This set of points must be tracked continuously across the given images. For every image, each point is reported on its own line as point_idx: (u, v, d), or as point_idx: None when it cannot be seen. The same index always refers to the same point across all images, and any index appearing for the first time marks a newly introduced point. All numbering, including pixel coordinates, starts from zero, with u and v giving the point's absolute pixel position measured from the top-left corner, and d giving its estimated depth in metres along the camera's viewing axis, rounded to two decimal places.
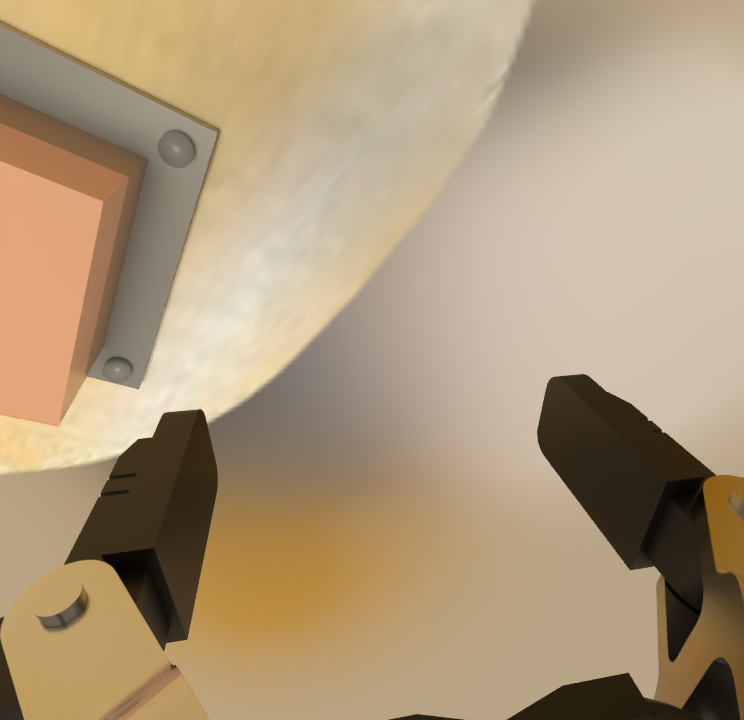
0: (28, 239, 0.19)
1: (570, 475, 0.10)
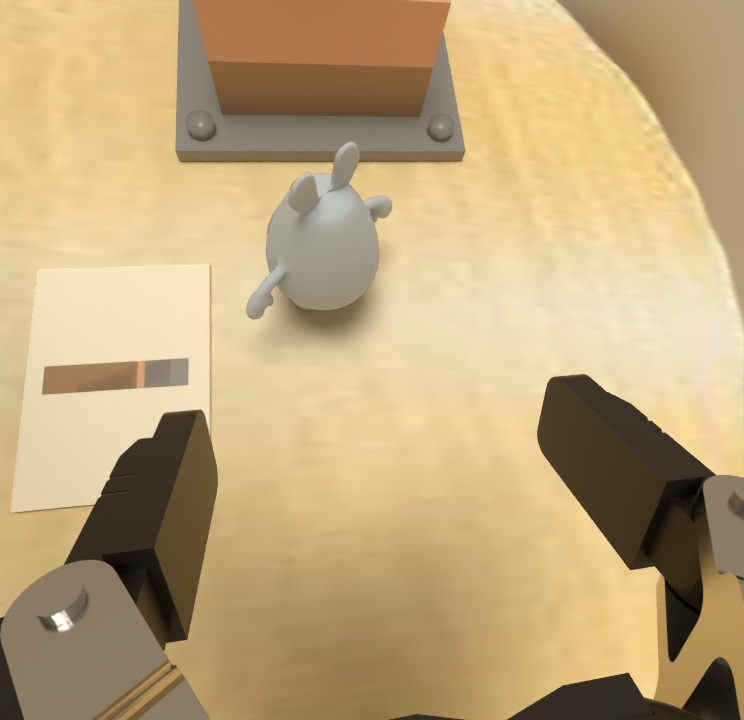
0: None
1: (570, 475, 0.10)
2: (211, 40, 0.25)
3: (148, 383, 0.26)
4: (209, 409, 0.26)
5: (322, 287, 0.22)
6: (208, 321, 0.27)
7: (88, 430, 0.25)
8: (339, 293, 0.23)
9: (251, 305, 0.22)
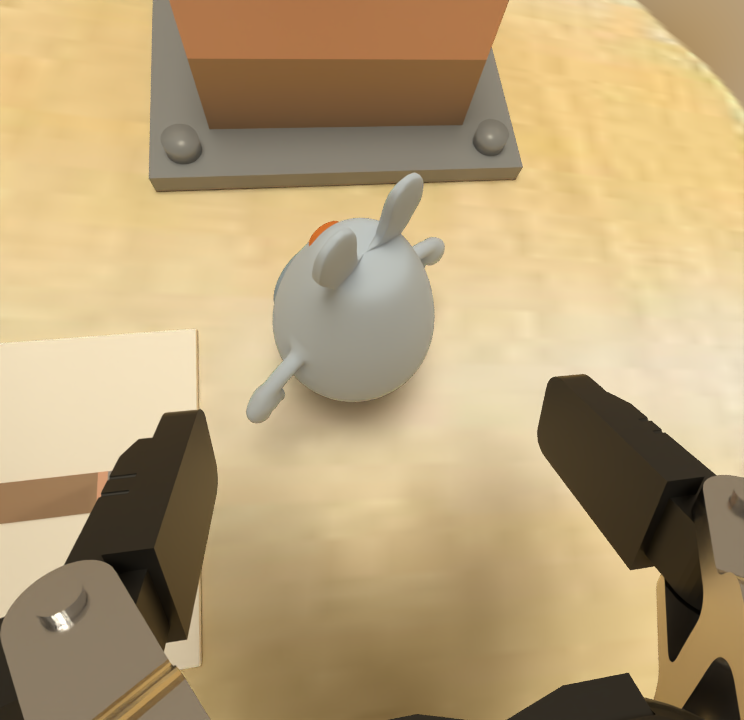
0: None
1: (570, 475, 0.10)
2: (190, 29, 0.18)
3: None
4: None
5: (358, 381, 0.15)
6: (195, 409, 0.20)
7: (26, 579, 0.17)
8: (381, 386, 0.15)
9: (254, 408, 0.15)
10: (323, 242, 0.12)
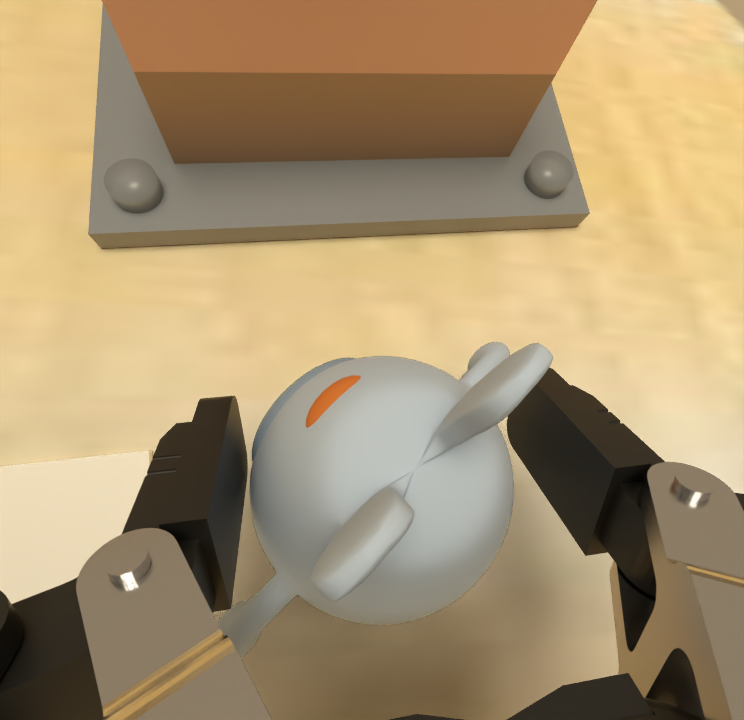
0: None
1: (535, 465, 0.10)
2: (133, 29, 0.12)
3: None
4: None
5: (390, 624, 0.09)
6: None
7: None
8: None
9: None
10: (333, 439, 0.06)
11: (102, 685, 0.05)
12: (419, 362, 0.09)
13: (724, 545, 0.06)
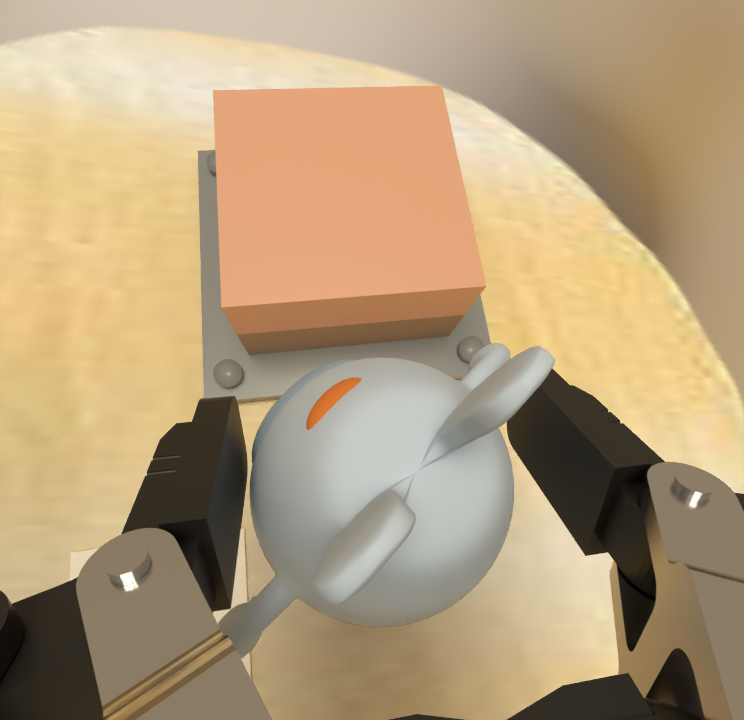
0: (266, 122, 0.26)
1: (535, 465, 0.10)
2: (241, 325, 0.25)
3: None
4: None
5: (390, 625, 0.09)
6: (245, 597, 0.26)
7: None
8: None
9: None
10: (334, 442, 0.06)
11: (102, 684, 0.05)
12: (419, 364, 0.09)
13: (724, 544, 0.06)
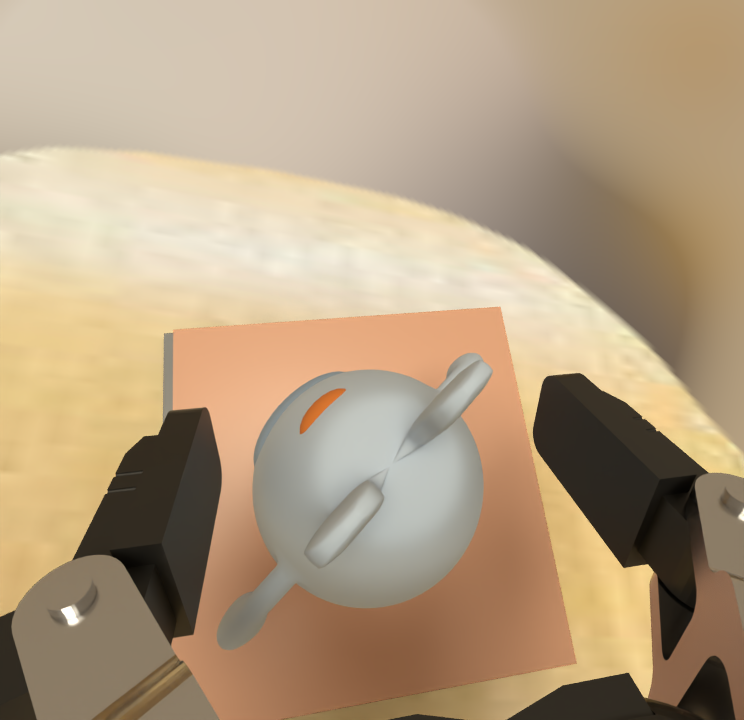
0: (250, 381, 0.18)
1: (565, 473, 0.10)
2: None
3: None
4: None
5: (379, 605, 0.10)
6: None
7: None
8: None
9: (226, 643, 0.10)
10: (322, 443, 0.08)
11: None
12: (398, 374, 0.10)
13: None
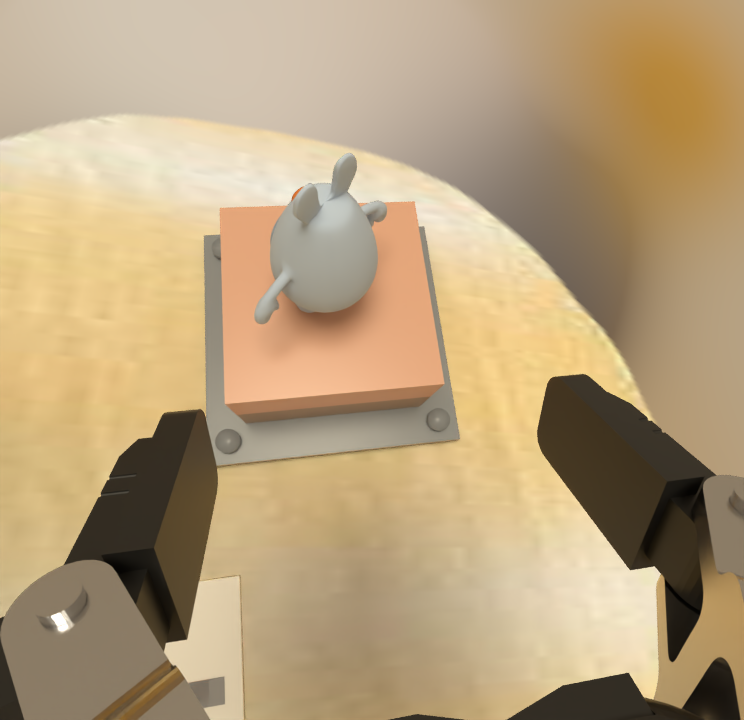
0: (264, 236, 0.31)
1: (570, 475, 0.10)
2: (240, 411, 0.30)
3: None
4: None
5: (326, 290, 0.23)
6: (240, 636, 0.31)
7: None
8: (342, 295, 0.24)
9: (259, 311, 0.23)
10: None
11: None
12: None
13: None
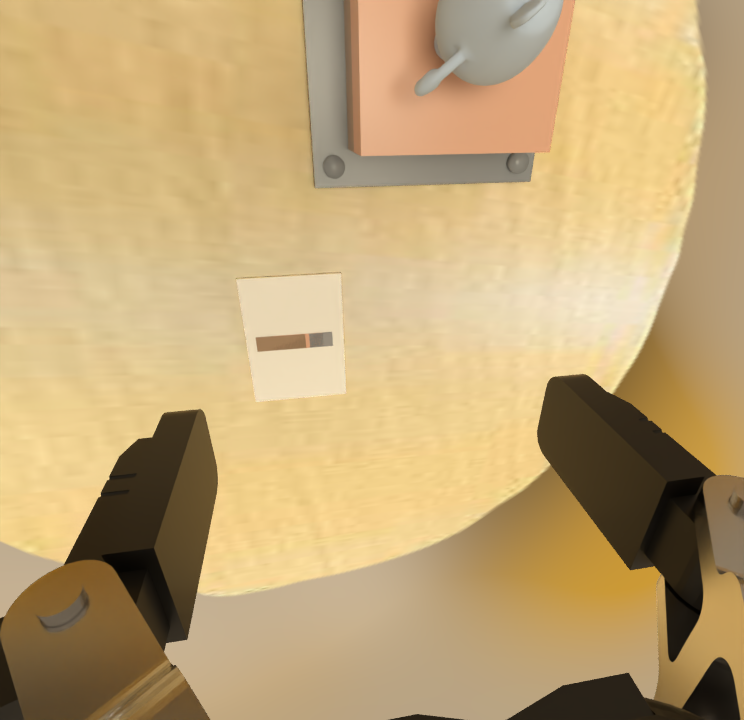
0: None
1: (570, 475, 0.10)
2: None
3: (311, 345, 0.46)
4: (344, 356, 0.48)
5: (495, 77, 0.24)
6: (342, 310, 0.45)
7: (284, 367, 0.47)
8: (505, 79, 0.25)
9: (425, 88, 0.25)
10: None
11: None
12: None
13: None
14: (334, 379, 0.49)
